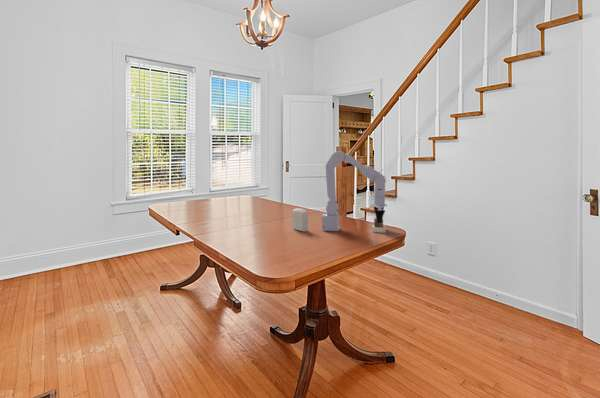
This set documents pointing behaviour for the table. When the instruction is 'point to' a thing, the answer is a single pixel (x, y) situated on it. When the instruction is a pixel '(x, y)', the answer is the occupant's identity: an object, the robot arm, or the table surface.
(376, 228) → the cream block
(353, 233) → the table surface
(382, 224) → the walnut cube
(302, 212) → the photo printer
